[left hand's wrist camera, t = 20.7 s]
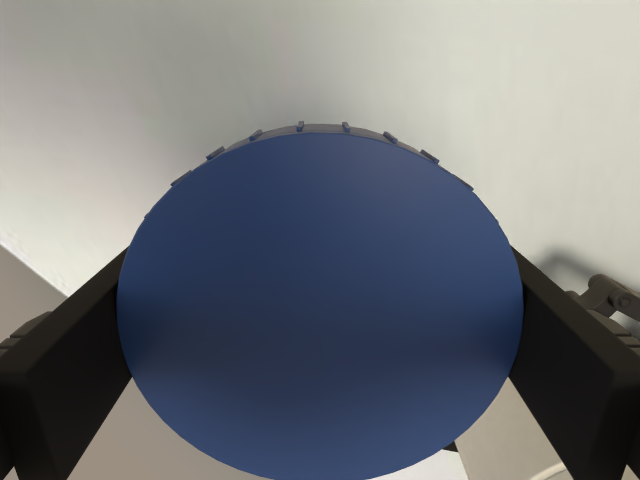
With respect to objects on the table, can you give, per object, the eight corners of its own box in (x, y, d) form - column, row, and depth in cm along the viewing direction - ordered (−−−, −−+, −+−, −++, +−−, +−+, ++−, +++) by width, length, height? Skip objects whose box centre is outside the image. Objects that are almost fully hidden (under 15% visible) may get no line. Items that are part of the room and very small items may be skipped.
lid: (223, 462, 14) (209, 516, 13) (78, 187, 11) (31, 208, 9) (517, 393, 13) (548, 442, 11) (461, 64, 10) (492, 60, 8)
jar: (536, 270, 31) (770, 476, 15) (530, 369, 34) (716, 625, 18) (413, 285, 31) (512, 501, 15) (419, 381, 35) (506, 642, 19)
